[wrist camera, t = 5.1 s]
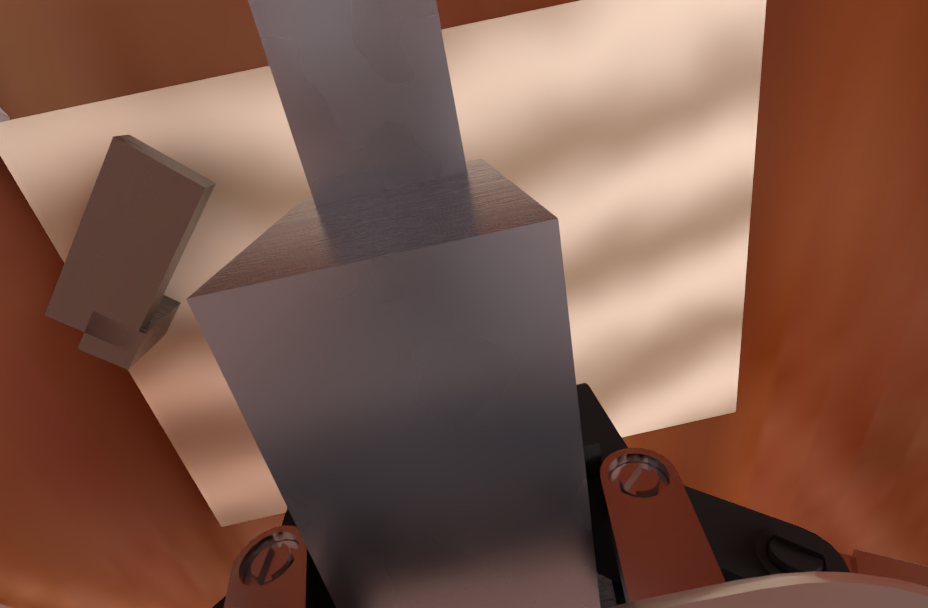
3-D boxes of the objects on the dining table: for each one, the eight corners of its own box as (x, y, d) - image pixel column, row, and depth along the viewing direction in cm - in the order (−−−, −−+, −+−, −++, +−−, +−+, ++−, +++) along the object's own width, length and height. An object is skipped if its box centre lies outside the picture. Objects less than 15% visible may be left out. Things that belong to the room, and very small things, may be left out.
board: (21, 123, 20) (-18, 125, 18) (737, -27, 20) (769, -40, 19) (233, 500, 29) (221, 526, 28) (716, 392, 30) (735, 411, 28)
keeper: (114, 285, 23) (37, 332, 18) (182, 128, 21) (113, 136, 16) (183, 317, 24) (128, 370, 19) (256, 171, 22) (212, 191, 17)
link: (146, -30, 8) (-350, -280, 3) (518, -108, 9) (706, -487, 3) (410, 637, 17) (409, 894, 11) (596, 594, 17) (685, 828, 11)
